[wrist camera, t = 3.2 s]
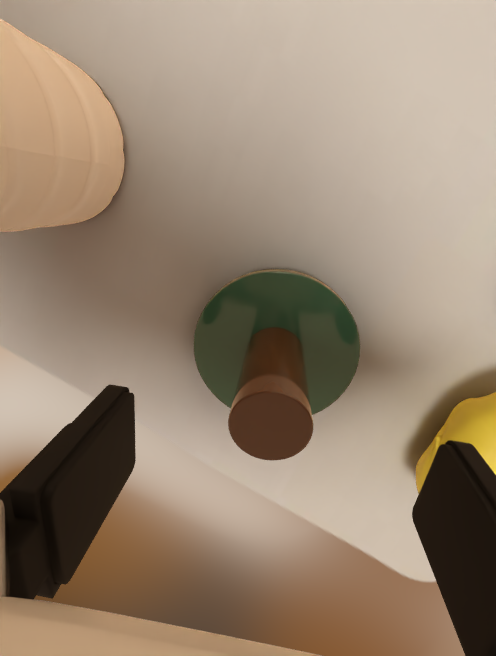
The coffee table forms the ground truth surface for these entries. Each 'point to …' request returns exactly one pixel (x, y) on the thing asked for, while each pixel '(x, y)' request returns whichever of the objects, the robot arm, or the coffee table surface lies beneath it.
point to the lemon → (465, 433)
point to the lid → (276, 357)
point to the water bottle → (52, 138)
